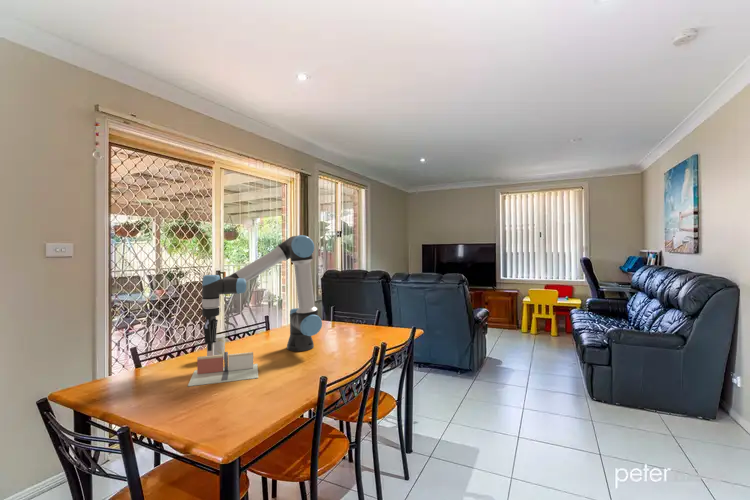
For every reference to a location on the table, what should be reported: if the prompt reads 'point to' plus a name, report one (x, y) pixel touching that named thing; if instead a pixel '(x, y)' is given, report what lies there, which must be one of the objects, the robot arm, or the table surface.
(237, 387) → the table surface
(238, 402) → the table surface
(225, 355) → the fence fixed
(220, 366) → the red rectangular panel
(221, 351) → the cup
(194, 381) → the card
